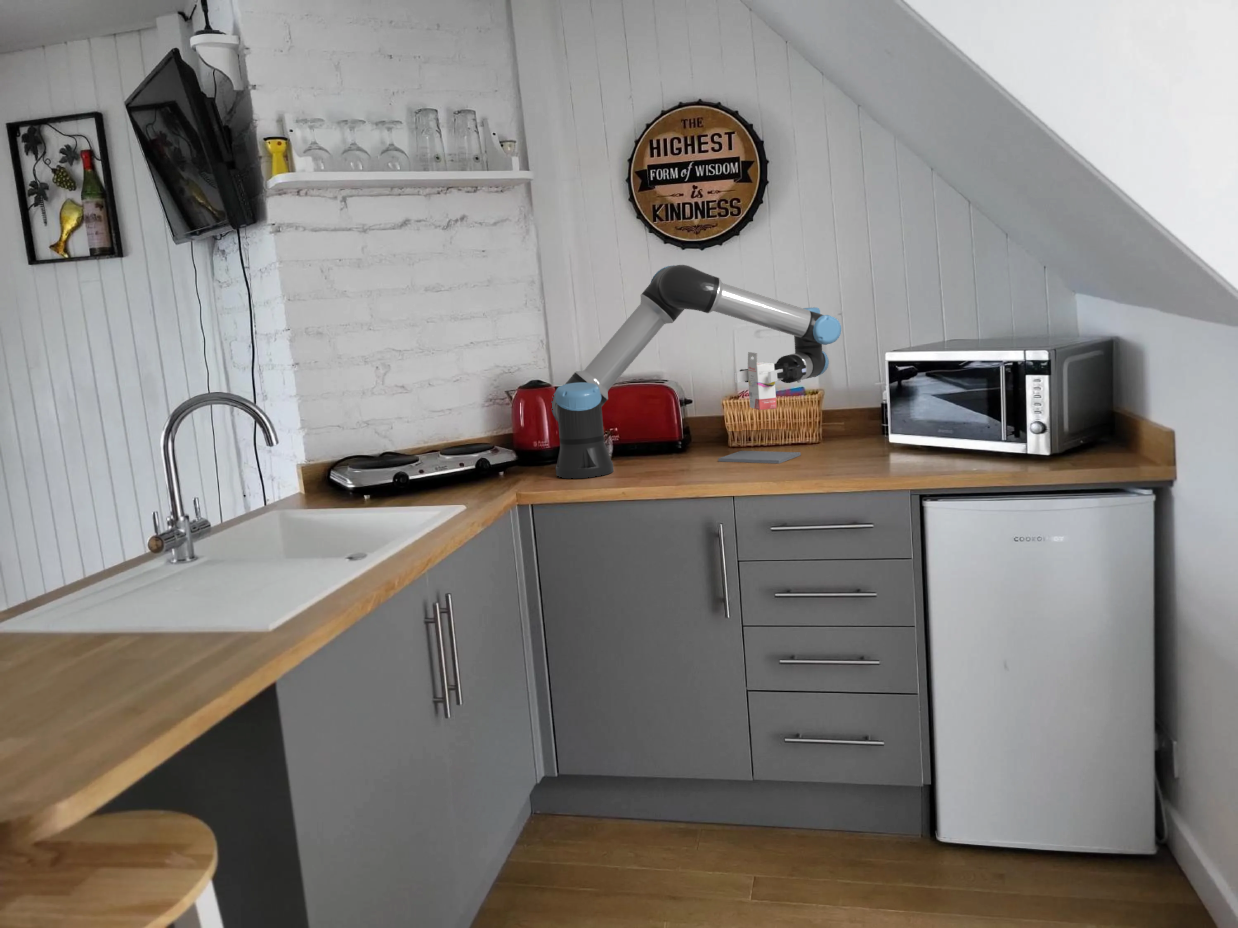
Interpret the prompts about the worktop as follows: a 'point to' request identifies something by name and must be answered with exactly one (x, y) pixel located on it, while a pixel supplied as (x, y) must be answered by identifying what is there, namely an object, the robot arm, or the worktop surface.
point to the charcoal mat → (759, 457)
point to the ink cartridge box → (760, 384)
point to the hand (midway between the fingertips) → (752, 377)
